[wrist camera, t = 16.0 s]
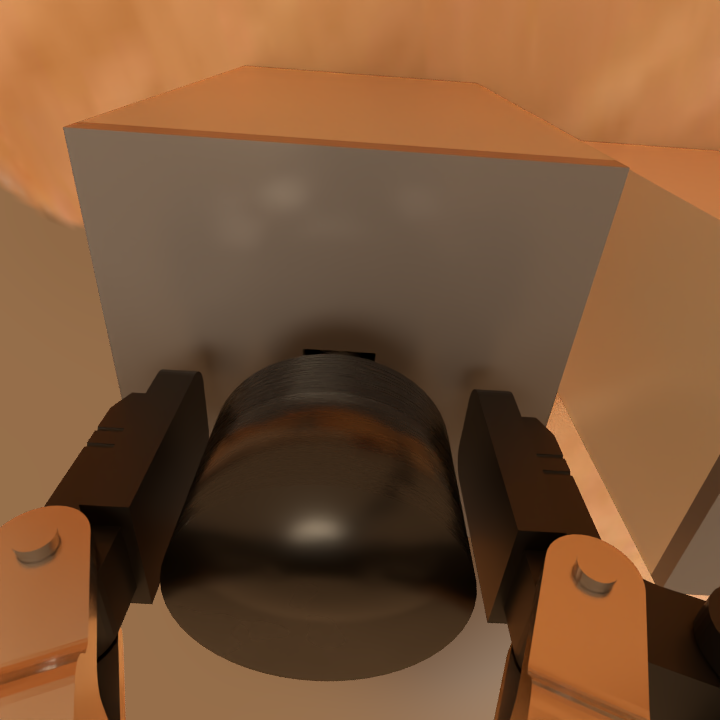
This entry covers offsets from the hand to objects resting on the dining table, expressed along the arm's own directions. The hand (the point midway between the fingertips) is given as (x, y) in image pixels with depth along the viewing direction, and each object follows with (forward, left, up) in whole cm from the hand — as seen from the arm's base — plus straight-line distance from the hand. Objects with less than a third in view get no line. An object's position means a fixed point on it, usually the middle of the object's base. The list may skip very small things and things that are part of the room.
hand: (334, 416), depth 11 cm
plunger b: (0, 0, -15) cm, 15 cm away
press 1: (0, 0, -17) cm, 17 cm away
